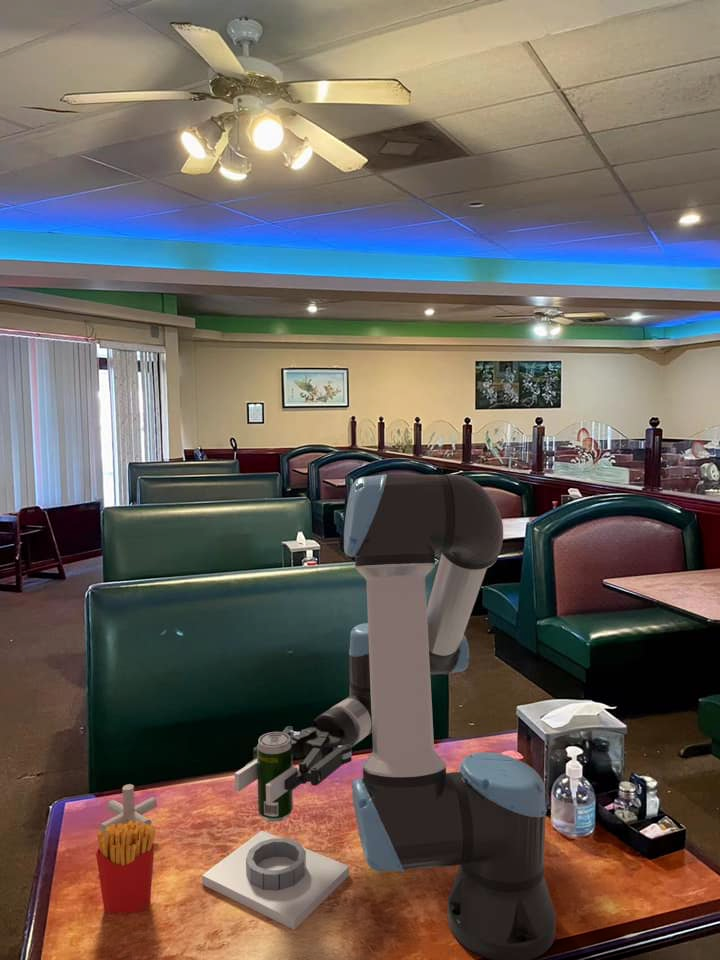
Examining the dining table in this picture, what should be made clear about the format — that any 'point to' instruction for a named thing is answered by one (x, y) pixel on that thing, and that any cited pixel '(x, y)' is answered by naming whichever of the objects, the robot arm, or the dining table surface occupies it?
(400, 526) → the robot arm
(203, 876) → the holder
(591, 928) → the dining table surface
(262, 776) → the beer can
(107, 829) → the french fries
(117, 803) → the pipe connector
